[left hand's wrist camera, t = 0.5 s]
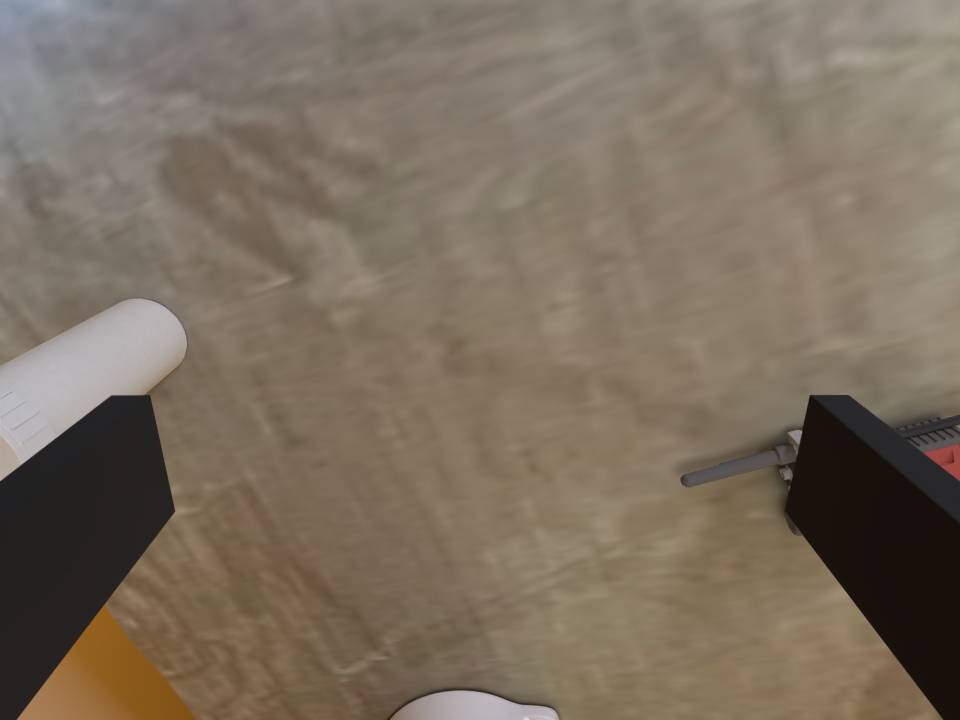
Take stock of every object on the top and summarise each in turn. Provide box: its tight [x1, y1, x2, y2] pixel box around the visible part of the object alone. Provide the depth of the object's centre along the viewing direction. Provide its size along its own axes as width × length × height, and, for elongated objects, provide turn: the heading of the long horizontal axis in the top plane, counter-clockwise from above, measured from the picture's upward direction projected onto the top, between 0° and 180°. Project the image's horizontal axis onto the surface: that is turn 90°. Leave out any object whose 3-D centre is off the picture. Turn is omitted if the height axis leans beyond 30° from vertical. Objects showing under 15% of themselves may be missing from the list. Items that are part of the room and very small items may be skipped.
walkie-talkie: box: [680, 415, 960, 536], centre depth 43 cm, size 9×4×20 cm
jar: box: [0, 298, 187, 437], centre depth 34 cm, size 5×5×16 cm
